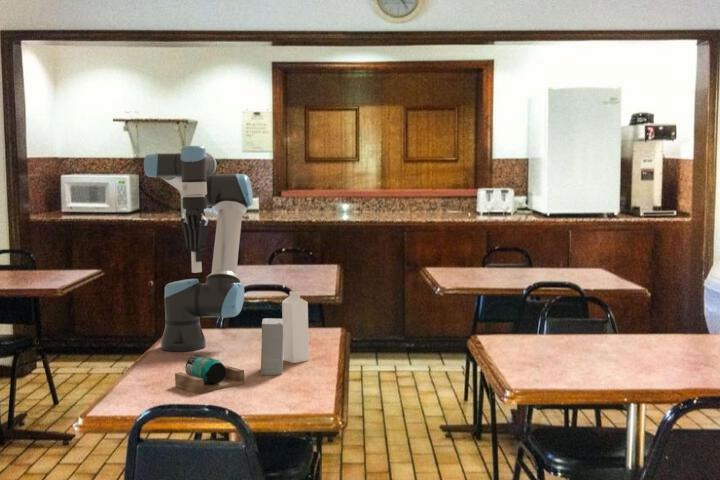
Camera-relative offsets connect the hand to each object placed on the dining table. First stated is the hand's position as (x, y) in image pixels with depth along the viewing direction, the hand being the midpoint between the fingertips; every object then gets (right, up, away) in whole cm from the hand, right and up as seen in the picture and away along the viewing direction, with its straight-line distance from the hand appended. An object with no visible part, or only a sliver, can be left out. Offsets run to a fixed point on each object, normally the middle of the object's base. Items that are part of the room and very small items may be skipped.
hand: (196, 272), depth 270 cm
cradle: (+8, -31, -23) cm, 39 cm away
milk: (+30, -29, +8) cm, 42 cm away
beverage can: (+3, -27, -18) cm, 32 cm away
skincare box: (+24, -30, -8) cm, 39 cm away
